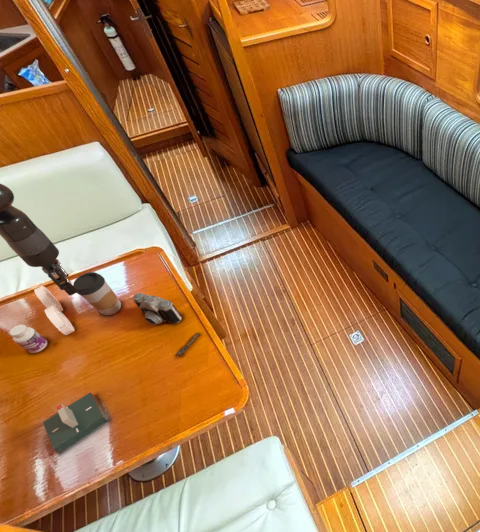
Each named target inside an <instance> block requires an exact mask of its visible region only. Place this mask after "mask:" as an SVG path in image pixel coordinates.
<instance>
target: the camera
mask: <svg viewBox="0 0 480 532" xmlns="http://www.w3.org/2000/svg"><path fill="white" fill-rule="evenodd" d="M132 298H133V299H132V301H133V302H134V303H135V305H136V306H137V307H138V308H139V309H140V311H141V312H142V313H143V314H144V320H145V321H146V322H147V323H149V324H151V325H152V326H153V325H154V326H156V325H160V324H162V323H165V322H168V323H171V324H178V323H180V322H181V321H182V317H183V316H182V315H181V312H179V310H178V308H176V306H175V304H173V302H172V301H171V300H170V299H169V300H168V299H165V298H162V297H160V296H156V295H152V294H150V295H148V294H145V293H142V292H137V293H135V294H134V295H133V297H132Z"/></svg>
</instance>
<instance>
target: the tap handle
mask: <svg viewBox="0 0 480 532" xmlns="http://www.w3.org/2000/svg"><path fill="white" fill-rule="evenodd" d="M67 407H68V406H65V405H64V404H63V403H61V404H59V405H58V406H55V409H56V411H57V413H59V416H60V418H61V420H62V422H63V423H65V424H67V425H68V426H70V427H72V428H74V427H75V426H77V425H78V423H77V421H76V418H75V416H74V414H73V412H72V410H70V409H69V408H67Z"/></svg>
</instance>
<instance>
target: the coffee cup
mask: <svg viewBox="0 0 480 532" xmlns="http://www.w3.org/2000/svg"><path fill="white" fill-rule="evenodd" d="M72 285H73V286H74V287H75V288H76V289H77V291H78V292H77V293H76V294H77V295H79V296H81V297H82V298H83V299H84V300H85V301H86V302H87V303H88V304H89V305H91V306H92V307H93V308H94V309H95V310H97V311H98V312H99V313H100V314H102V315H104V316H112V315H114V314H117V312H119V311H120V310H121V306H122V302H121V301H120V299H119V298H118V296H117V294H115V292H114V291H113V289H112V287H110V285H109V284H108V283H107V281H106V279H105V278H104V276H102V274H100V273H97V272H94V271H90V272H85V273H82V274H81V275H80V276H78V277H77V278H76V279H75V280H74V281H73V284H72Z"/></svg>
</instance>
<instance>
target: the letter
mask: <svg viewBox="0 0 480 532" xmlns="http://www.w3.org/2000/svg"><path fill="white" fill-rule="evenodd" d="M33 291H34V294H35V296H36V297H37V298H38V300H39V301H40V303H42V305H43V306H44V307H45V309H44V310H43V311H44V313H45V315H46V317H47V318H48V319H49V322H51V324H52V325H53V326H54V327H55V328H56V329H58V331H59V332H60V333H61V334H63V335H64V336H68V335H70V334H71V333H74V332H75V327H74V326H73V325H72V322H71V321H70V320H69V319H68V317H66V315H65V313H63V311H64V308H63V306H62V305H61V303H60V301H59V300H58V299H57V297H55V295H53V293H52V292H51V291H50V290H49V289H48V288H47V287H46V286H44V285H41V286H39V287H37V288H34V289H33Z"/></svg>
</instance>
